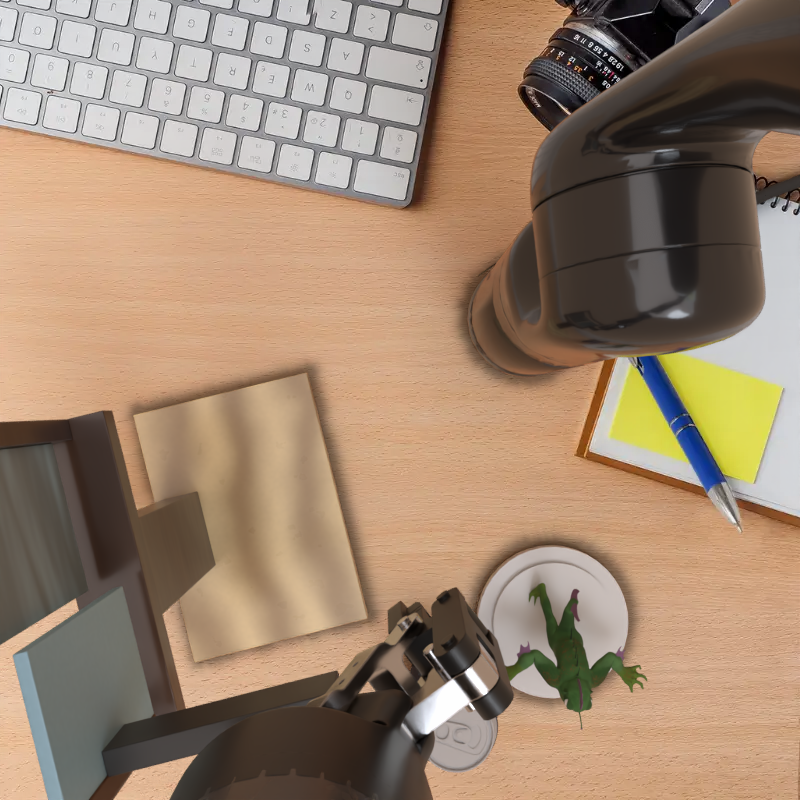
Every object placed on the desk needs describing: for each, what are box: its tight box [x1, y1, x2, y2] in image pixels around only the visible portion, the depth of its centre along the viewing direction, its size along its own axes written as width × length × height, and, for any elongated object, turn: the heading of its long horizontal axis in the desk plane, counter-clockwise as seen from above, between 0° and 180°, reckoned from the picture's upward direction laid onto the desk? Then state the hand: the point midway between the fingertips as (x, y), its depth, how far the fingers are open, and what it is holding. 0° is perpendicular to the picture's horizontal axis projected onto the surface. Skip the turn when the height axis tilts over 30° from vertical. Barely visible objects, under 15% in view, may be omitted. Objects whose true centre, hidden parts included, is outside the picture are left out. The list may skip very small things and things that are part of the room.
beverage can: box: [409, 664, 499, 774], centre depth 56 cm, size 6×6×12 cm
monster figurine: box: [476, 544, 648, 731], centre depth 57 cm, size 12×12×10 cm
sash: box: [12, 586, 340, 800], centre depth 36 cm, size 11×8×11 cm
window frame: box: [0, 409, 216, 800], centre depth 44 cm, size 4×19×34 cm, turn 14°
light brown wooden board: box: [133, 371, 369, 663], centre depth 61 cm, size 14×20×1 cm
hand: (330, 684), depth 33 cm, fingers open, 8 cm apart
